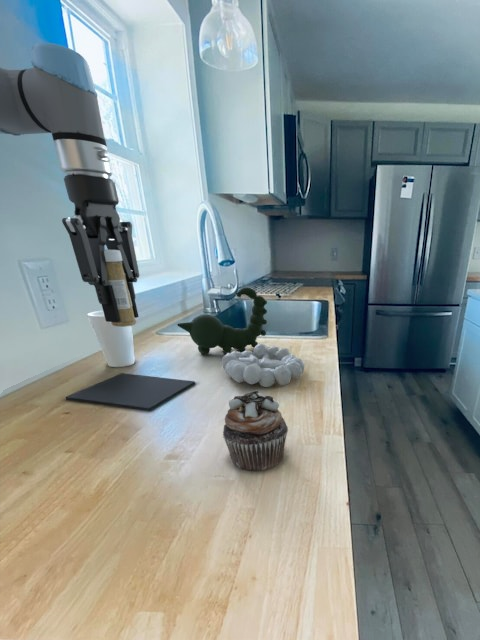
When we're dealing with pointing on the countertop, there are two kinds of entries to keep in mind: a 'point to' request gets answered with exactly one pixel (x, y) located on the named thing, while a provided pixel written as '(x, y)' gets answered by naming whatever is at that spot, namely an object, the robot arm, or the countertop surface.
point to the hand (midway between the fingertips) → (122, 318)
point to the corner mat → (132, 391)
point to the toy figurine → (228, 328)
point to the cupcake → (255, 432)
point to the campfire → (263, 365)
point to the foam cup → (113, 340)
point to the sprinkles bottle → (119, 288)
